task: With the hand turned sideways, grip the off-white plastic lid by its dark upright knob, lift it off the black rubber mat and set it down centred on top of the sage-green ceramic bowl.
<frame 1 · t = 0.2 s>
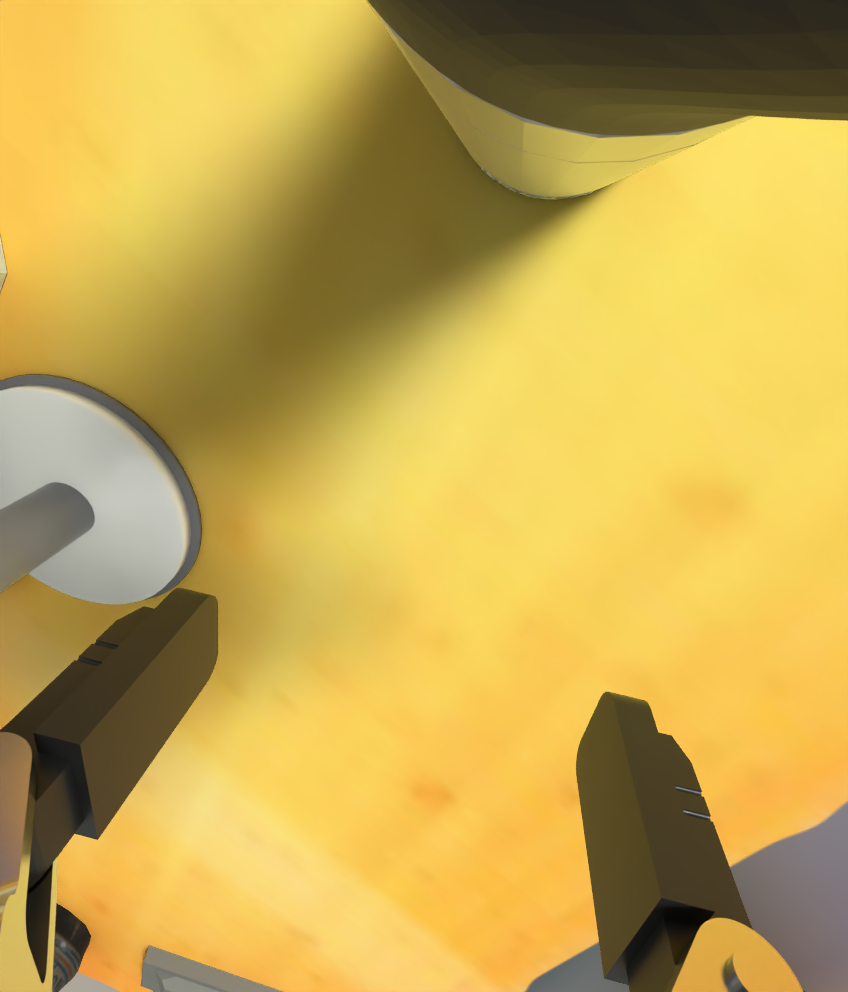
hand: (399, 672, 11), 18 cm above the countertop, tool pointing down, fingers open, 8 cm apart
lid: (79, 500, 33), resting on mat
beer stein: (37, 911, 67), on the countertop
mat: (84, 497, 33), on the countertop
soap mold: (221, 977, 69), on the countertop
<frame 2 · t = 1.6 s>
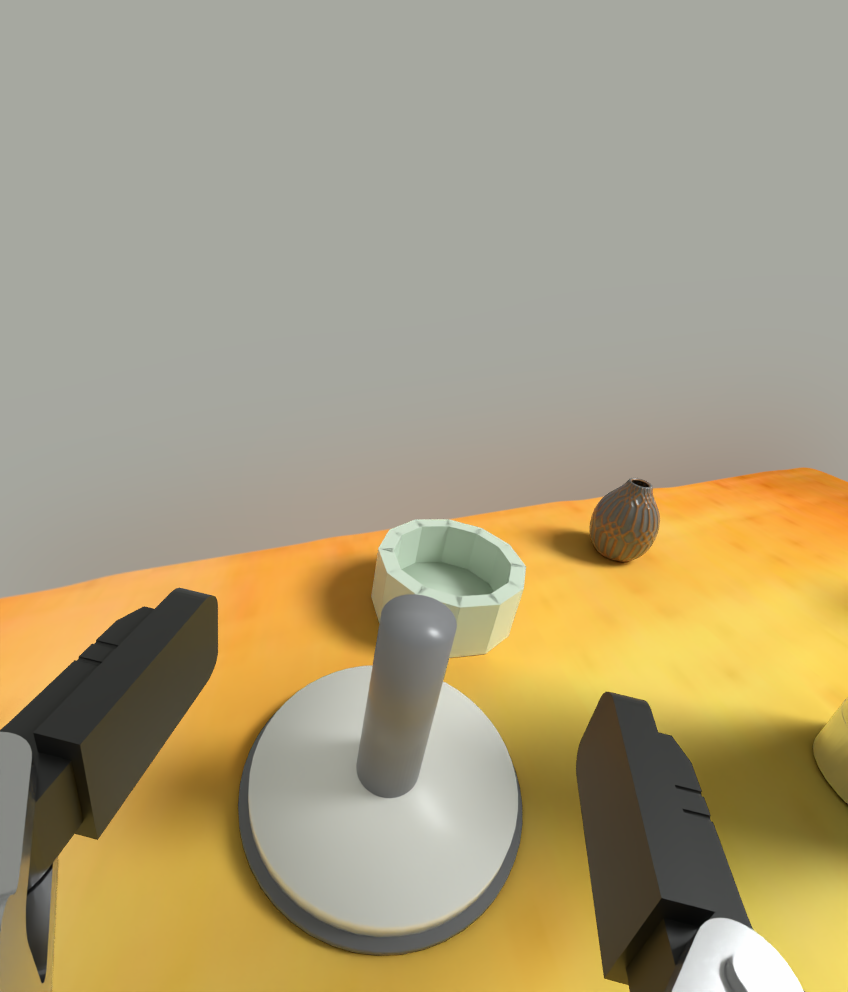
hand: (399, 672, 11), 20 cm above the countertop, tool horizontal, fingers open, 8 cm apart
lid: (385, 777, 30), resting on mat
mat: (384, 781, 30), on the countertop
bowl: (442, 604, 45), on the countertop
vase: (612, 553, 58), on the countertop
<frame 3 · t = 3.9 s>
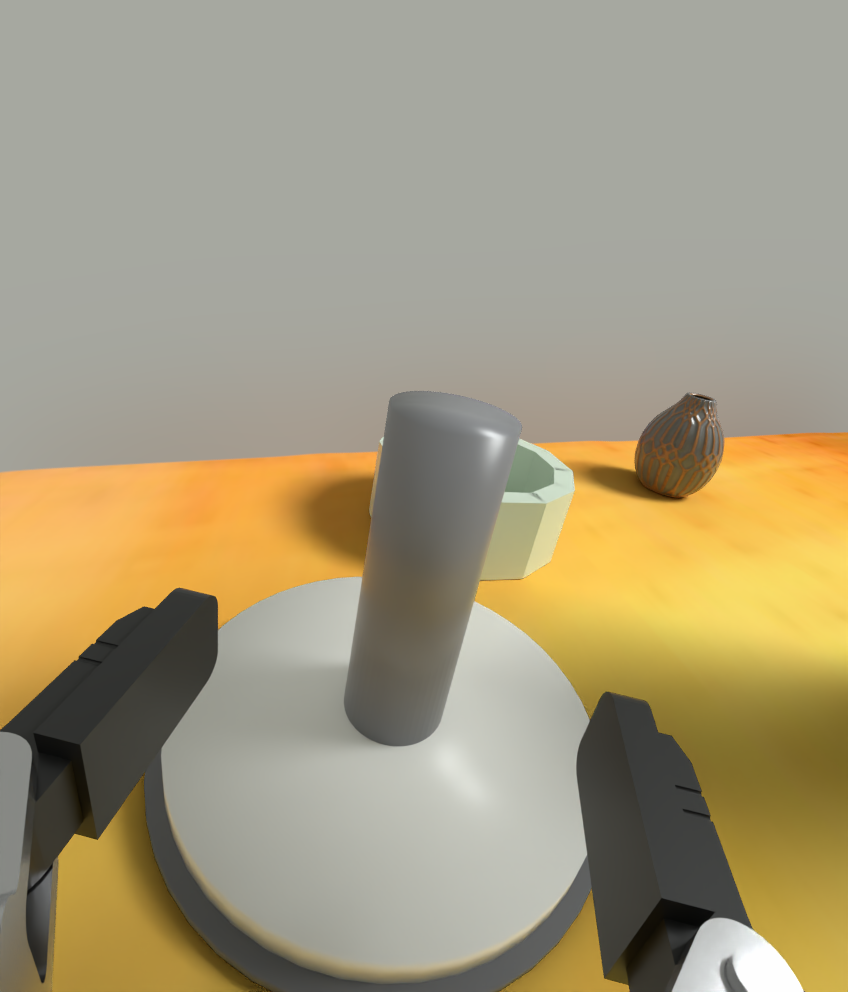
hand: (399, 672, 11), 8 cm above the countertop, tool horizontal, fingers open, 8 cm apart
lid: (389, 721, 19), resting on mat
mat: (388, 728, 19), on the countertop
bowl: (461, 524, 34), on the countertop
vase: (661, 489, 48), on the countertop
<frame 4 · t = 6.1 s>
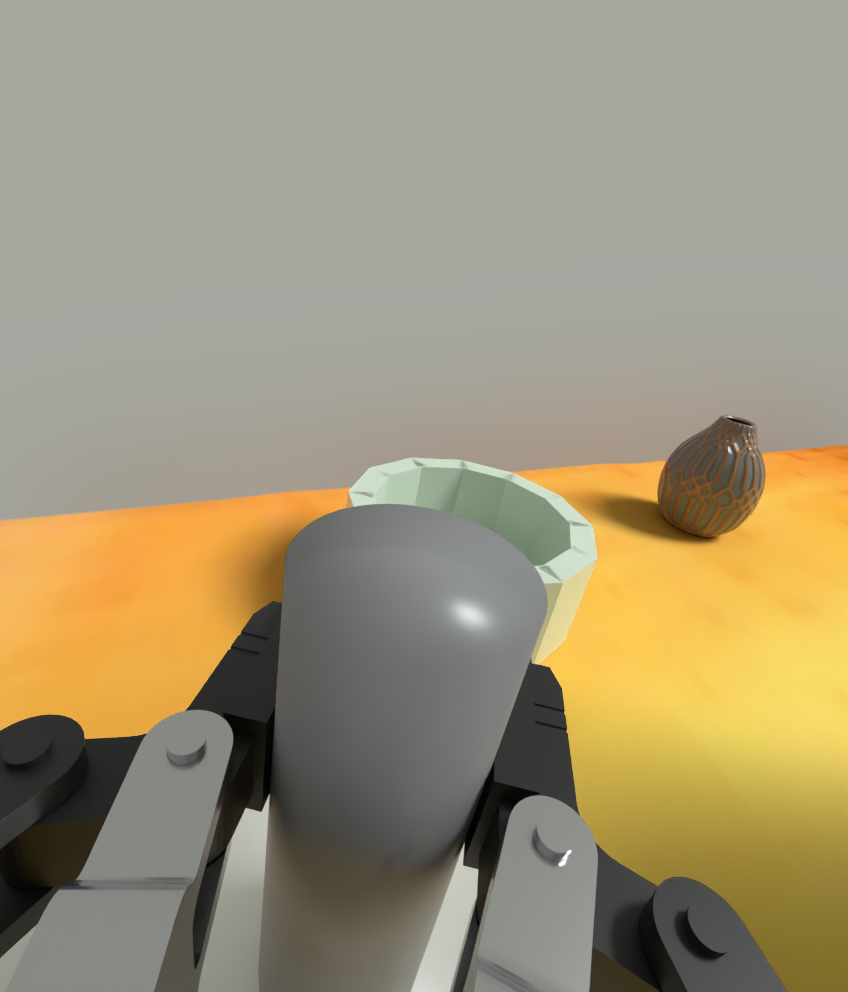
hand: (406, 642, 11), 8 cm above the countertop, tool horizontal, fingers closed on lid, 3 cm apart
lid: (334, 972, 12), resting on mat, touching gripper
bowl: (453, 589, 28), on the countertop
vase: (689, 526, 41), on the countertop
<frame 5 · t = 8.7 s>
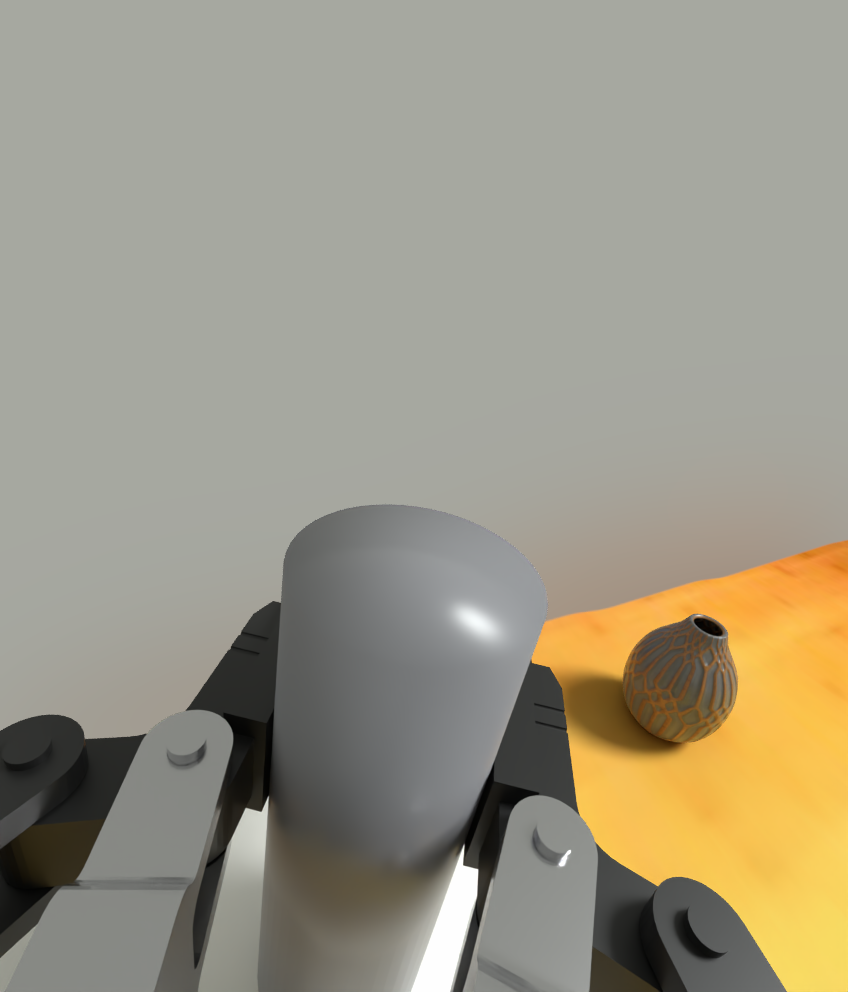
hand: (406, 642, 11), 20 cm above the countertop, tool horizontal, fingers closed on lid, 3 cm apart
lid: (334, 974, 12), point 12 cm above the countertop, touching gripper
vase: (657, 719, 38), on the countertop
when the fingers open (14 cm above the countertop, at t = 11.5 s): lid drops 1 cm, resting on bowl.
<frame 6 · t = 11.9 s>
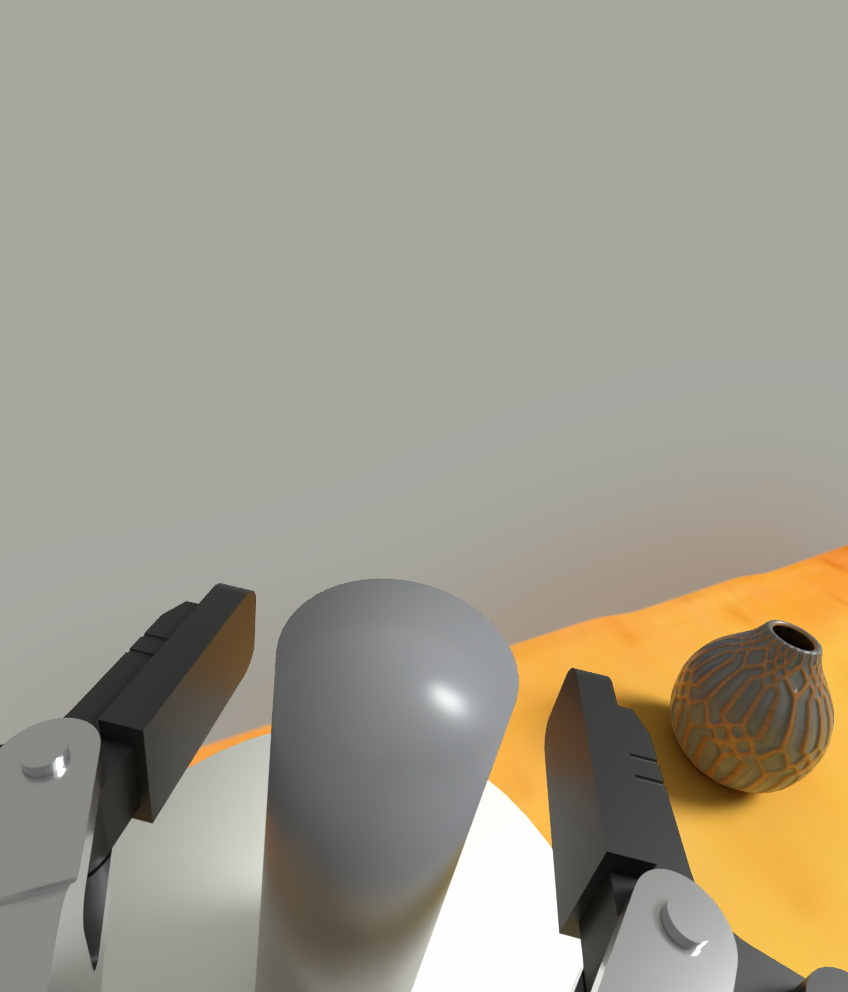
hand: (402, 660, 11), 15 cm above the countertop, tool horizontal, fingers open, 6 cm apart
vase: (715, 757, 29), on the countertop
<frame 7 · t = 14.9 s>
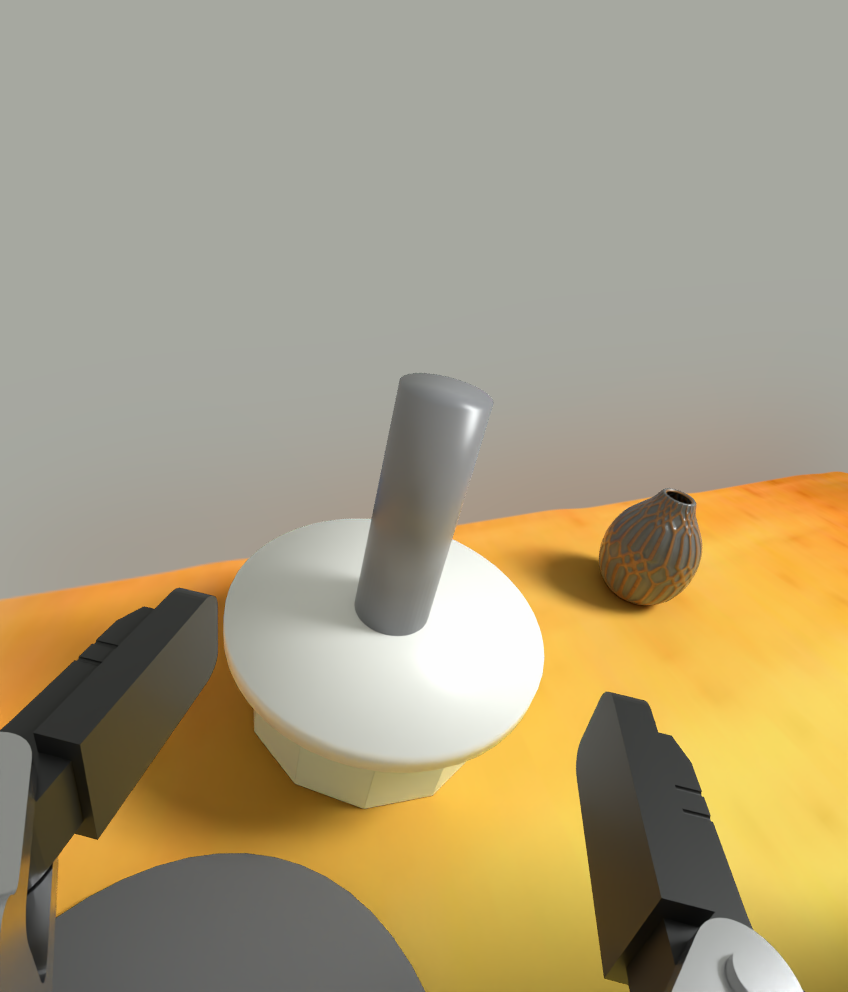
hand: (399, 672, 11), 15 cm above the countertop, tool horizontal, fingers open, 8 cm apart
lid: (388, 622, 25), point 5 cm above the countertop, touching bowl
bowl: (370, 689, 28), on the countertop
vase: (628, 590, 41), on the countertop
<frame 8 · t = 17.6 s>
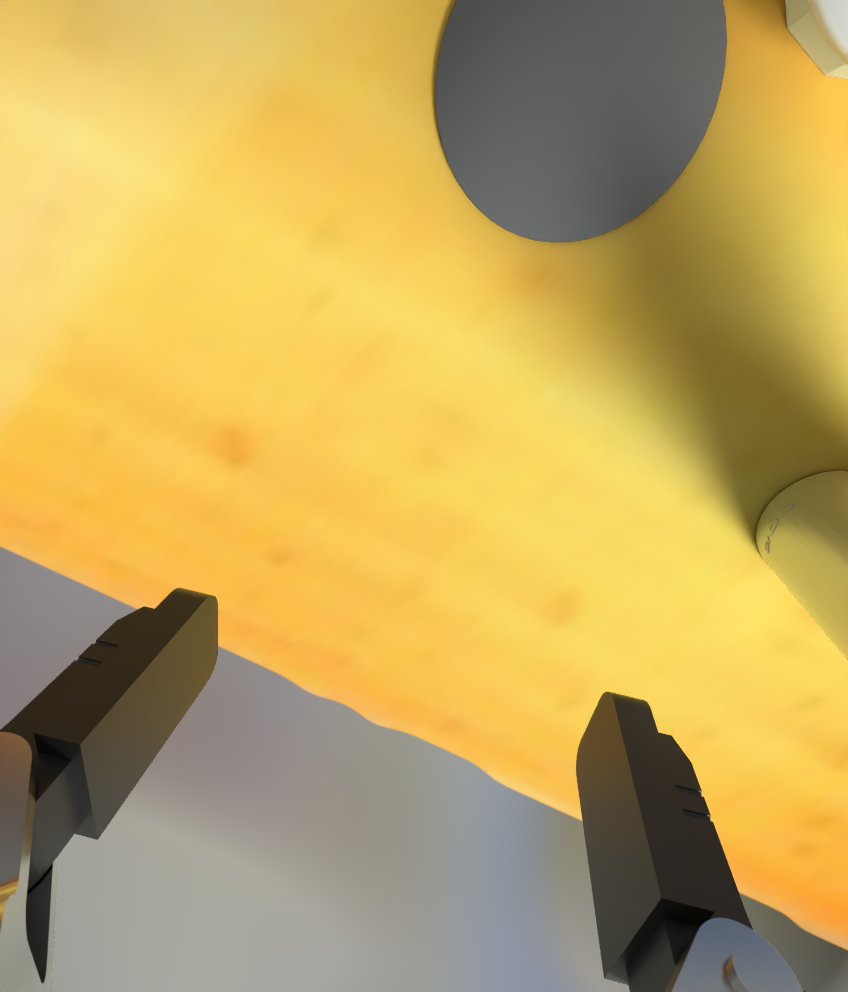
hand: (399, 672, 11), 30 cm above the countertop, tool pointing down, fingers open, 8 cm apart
mat: (573, 88, 30), on the countertop
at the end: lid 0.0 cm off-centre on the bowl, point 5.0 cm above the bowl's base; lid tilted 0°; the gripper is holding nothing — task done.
